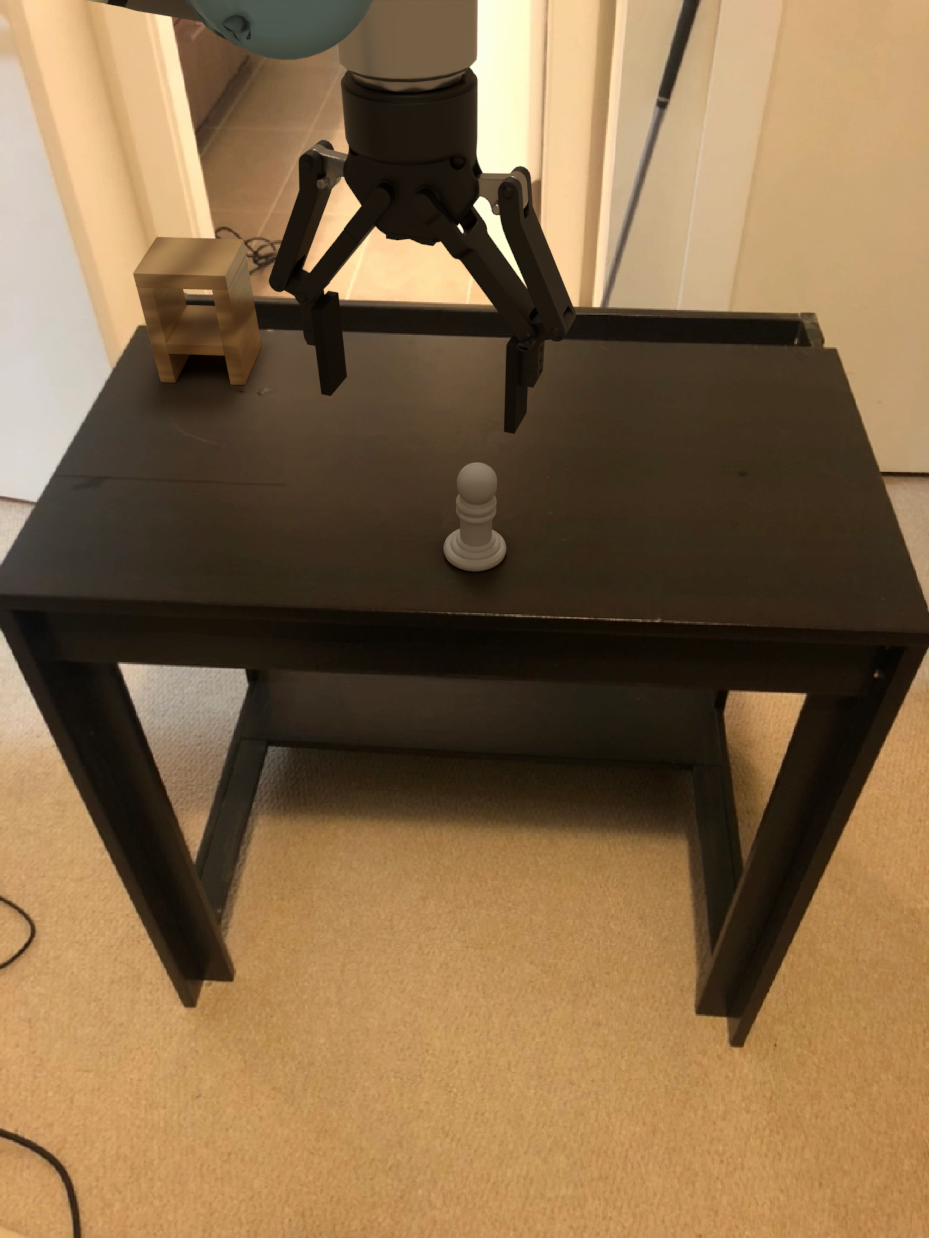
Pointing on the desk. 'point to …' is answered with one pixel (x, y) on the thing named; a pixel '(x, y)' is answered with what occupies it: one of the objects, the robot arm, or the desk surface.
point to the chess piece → (475, 521)
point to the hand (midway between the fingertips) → (422, 404)
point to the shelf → (192, 325)
